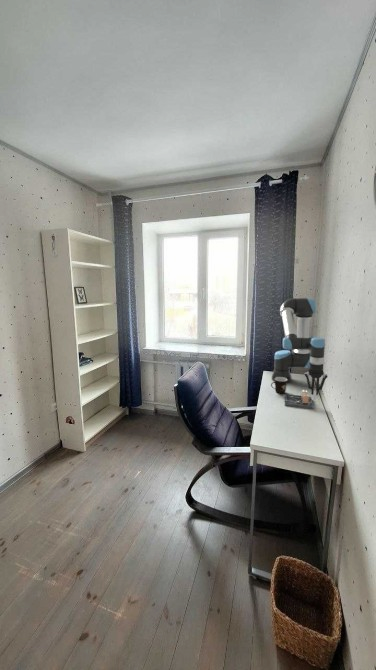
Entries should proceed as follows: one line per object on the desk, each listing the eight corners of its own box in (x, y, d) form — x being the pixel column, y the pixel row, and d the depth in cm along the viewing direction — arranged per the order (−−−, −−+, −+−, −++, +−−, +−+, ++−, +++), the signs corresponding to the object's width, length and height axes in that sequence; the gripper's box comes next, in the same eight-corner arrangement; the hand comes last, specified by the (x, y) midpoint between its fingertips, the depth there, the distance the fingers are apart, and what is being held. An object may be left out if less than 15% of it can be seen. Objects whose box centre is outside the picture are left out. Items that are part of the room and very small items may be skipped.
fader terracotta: (302, 400, 173) (303, 393, 172) (307, 401, 172) (308, 394, 171) (302, 402, 170) (303, 395, 169) (307, 403, 169) (308, 396, 168)
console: (285, 396, 185) (285, 392, 184) (311, 399, 179) (311, 395, 179) (284, 405, 172) (284, 401, 172) (312, 409, 167) (312, 404, 166)
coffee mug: (285, 390, 196) (285, 377, 194) (288, 395, 188) (288, 381, 186) (268, 390, 197) (269, 377, 195) (271, 394, 189) (271, 381, 187)
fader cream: (301, 396, 179) (302, 389, 178) (306, 396, 178) (307, 389, 177) (301, 398, 176) (302, 391, 175) (306, 398, 175) (307, 391, 174)
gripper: (305, 364, 163) (303, 400, 167) (329, 365, 158) (326, 403, 163) (304, 360, 170) (302, 395, 174) (327, 362, 165) (325, 398, 170)
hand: (314, 399), depth 168 cm, fingers closed
